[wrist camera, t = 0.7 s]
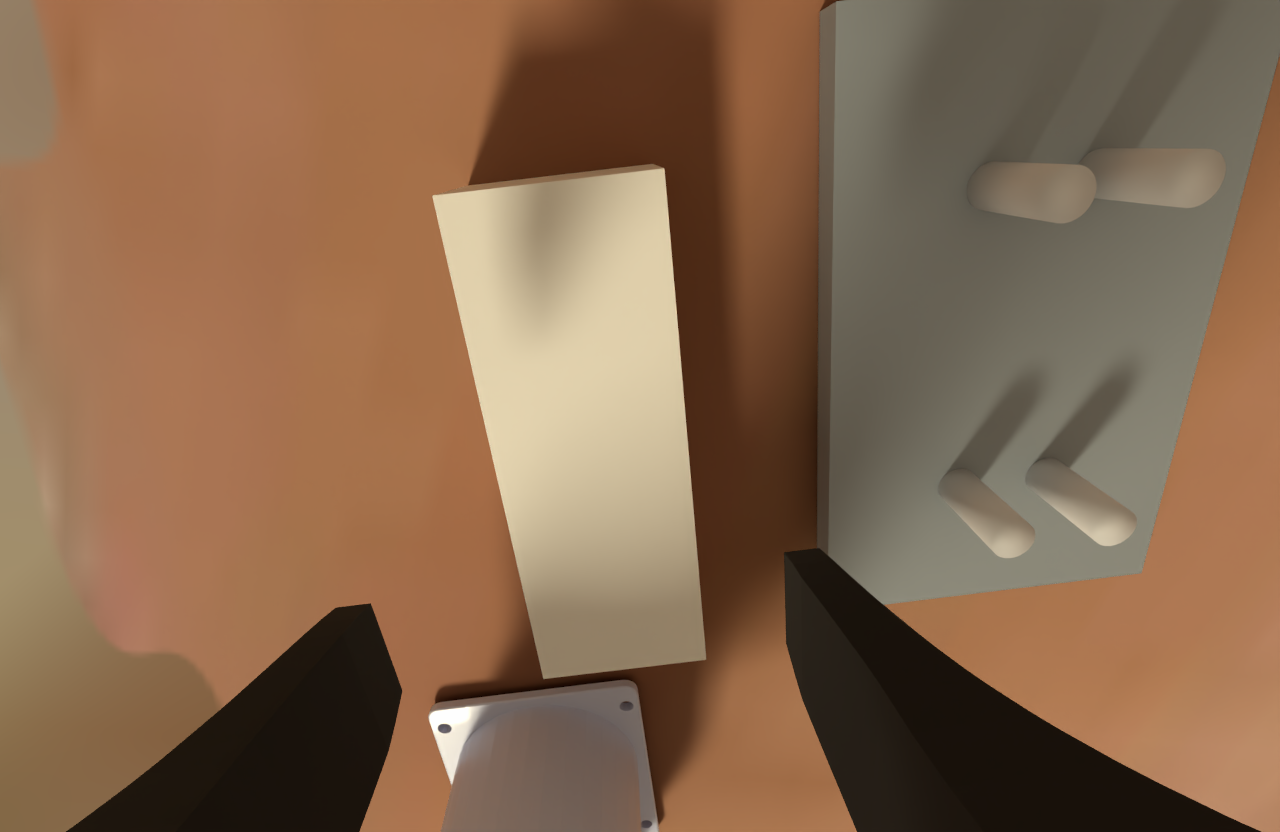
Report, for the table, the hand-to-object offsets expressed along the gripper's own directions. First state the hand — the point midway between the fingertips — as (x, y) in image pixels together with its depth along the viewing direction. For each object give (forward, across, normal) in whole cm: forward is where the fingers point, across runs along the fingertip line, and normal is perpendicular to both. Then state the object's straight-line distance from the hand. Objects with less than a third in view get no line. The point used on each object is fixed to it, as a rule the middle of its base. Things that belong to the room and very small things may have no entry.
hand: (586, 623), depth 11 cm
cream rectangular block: (+10, 0, 0) cm, 10 cm away
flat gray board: (+9, -12, -1) cm, 16 cm away
